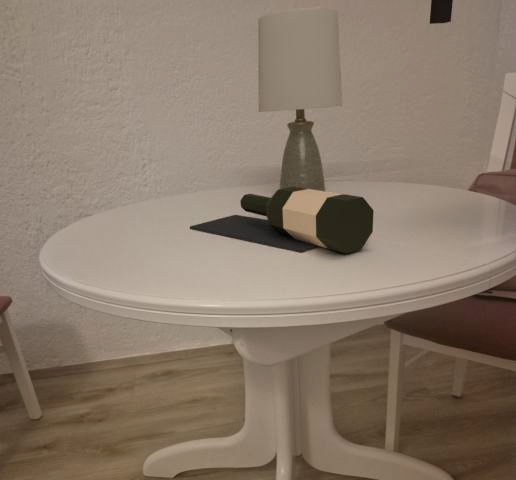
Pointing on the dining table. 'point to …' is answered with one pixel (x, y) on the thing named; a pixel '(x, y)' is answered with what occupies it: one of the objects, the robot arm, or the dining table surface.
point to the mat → (252, 232)
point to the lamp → (299, 82)
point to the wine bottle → (316, 217)
